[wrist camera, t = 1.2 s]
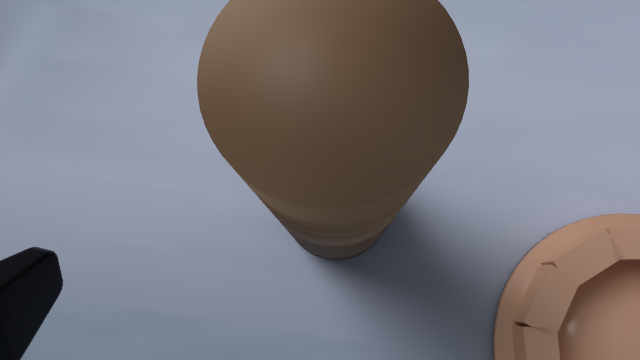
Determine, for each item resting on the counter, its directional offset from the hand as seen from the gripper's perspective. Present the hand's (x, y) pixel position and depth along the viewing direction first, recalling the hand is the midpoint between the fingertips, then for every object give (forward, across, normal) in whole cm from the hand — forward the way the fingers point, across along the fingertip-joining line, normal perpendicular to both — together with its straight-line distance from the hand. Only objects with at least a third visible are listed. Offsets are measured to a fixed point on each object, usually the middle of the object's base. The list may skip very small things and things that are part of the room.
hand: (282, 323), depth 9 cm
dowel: (+11, 0, +5) cm, 12 cm away
